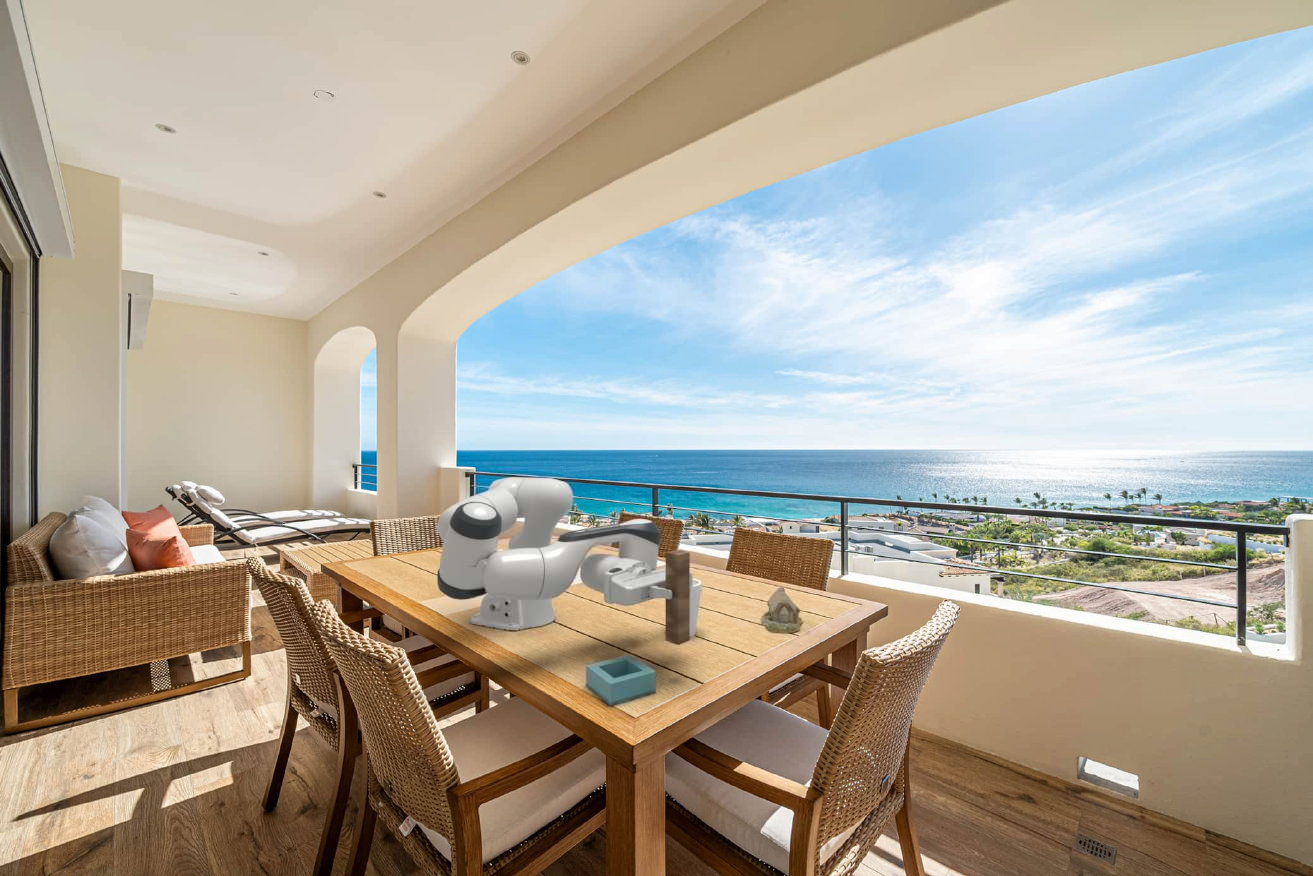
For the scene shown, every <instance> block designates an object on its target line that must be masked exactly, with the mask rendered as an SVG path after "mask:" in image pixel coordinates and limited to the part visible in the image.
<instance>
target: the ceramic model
mask: <svg viewBox="0 0 1313 876" xmlns="http://www.w3.org/2000/svg"><path fill="white" fill-rule="evenodd" d="M766 605H767V607H768V611H766V612H765V613H764V614H762V616H761V618H760V621H761V623H763V624H762V625H763V626H765V627H766V628H765V627H764V628H765V629H766V630H767V629H768V630H767V631H769V630H770V632H771V631H772V632H771V633H775V632H778V634H789V633H790V634H791V633H797V632H798V631H800V629H801V625H802V624H803V618H802V617H799V616H800V613H801V608H799V607H798V606H797V605H796V603H794V602H793V601H792V599H791V597H789V595H788V594H787V593H786V591H785V587H783V586H780V587H778V588H777V589H776V591H775V592H774V593H773V594H772V595H771V596H770V597H769V599H768V600H767V603H766Z"/></svg>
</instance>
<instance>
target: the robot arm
mask: <svg viewBox="0 0 1313 876" xmlns="http://www.w3.org/2000/svg"><path fill="white" fill-rule="evenodd" d="M573 493H574V492H573V490H572V488H571V486H570V485H569V483H568V482H565V481H562V480H559V479H555V478H552V477H551V478H550V477H519V476H516V477H515V476H510V477H504V478H499V479H496V480H494V481H492V483H491V484H490V485H489V487H488V490H485V491H484V492H481V493H478V494H475V495H472V496H469V497H467V498H465V499H462V500H460V501H458V502H456V503H454V504H453V505H450V506H449V507H448V508H447V509H445V510H444V511H442V512H441V514H440V515H439V518H438V521H437V531H438V535H439V536H440V538H441V540H442V541H443V543H442V547H441V548H442V549H441V554H440V555H441V556H440V561H439V567H438V570H437V574H436V575H437V578H436V579H437V587H438V589H439V591H440V592H441V593H443V594H444V595H445V596H447V597H448V598H451V599H453V600H459V601H461V600H463V601H464V600H465V601H466V600H470V599H475V598H478V597H481V596H484V597H483V598H482V600H481V603H480V607H479V611H478V612H476V613H475V614H474V615H473V616H471V618H470V624H473V625H476V626H477V625H478V626H482V625H484V627H489V628H493V627H495V628H494V629H499V630H504V629H506V631H509V630H516V631H519V629H520V630H524V629H530V627H531V628H537V627H541V626H544V625H548V624H551V623H552V622H553V621H555V619H556V614H555V611H554V607H553V602H552V599H554V598H558V597H560V596H561V595H563V594H564V593H565V592H566V591H567V590H568V589H569V588H570V587H571V586H572V584H573V582H574V581H575V579H576V577H577V575H578V572H580V574H579V575H580V577H579V578H580V580H581V582H582V584H583V585H585V586H586V587H588V589H592V590H594V591H596V592H599V593H601V594H603V598H604V601H603V602H605V604H608V605H611V604H615V605H619V606H624V607H625V606H627V607H628V606H634V605H638V604H641V603H645V602H648V601H651V600H654V599H665V600H666V599H672V598H674V597H675V590H674V589H671V588H667V589H666V567H665V568H660V569H657V567H658V556H659V546H660V541H661V535H662V532H661V530H660V528H659V527H658V526H657V524H656V523H655V522H654V521H652V520H649V519H645V518H636V519H635V518H634V519H631V520H627V521H624V522H619V523H612V524H606V525H600V526H592V527H587V528H581V529H575V530H571V531H568V532H564V533H562V534H560V536H558V539H557V540H556V541H554V542H553V543H551V542H552V537H553V532H554V531H555V528H556V526H557V525H558V523H559V522H560V521H561V519H562V518H564V517H565V516H566V515H567V514H568V513H569V512H570V510H571V509H572V507H573V503H574V494H573ZM517 519H524V521H523V525H522V528H521V530H520V531H518V532H516V533H515V534H514V535H513V536H511V538H510V539H509V541H508V549H505V550H504V549H501V548H498V543H499V538H500V537H499V536H500V534H502V533H504V532H506V531H508V530H510V529H511V528H512V527H514V525H515V524H516V523H517ZM613 543H618V544H619V547H618V555H614V554H607V553H590V551H591V550H592V549H593V548H595V547H597V546H602V545H606V544H613ZM497 548H498V550H497ZM588 553H590V554H588ZM692 578H693V573H692V572H691V571H690V592H691V587H692Z"/></svg>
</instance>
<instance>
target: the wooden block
mask: <svg viewBox="0 0 1313 876" xmlns="http://www.w3.org/2000/svg"><path fill="white" fill-rule="evenodd" d="M690 555H691V553H690V552H689V551H682V550H679V549H675V550H671V551H667V552H665V568H666V589H667V588H671V589H674V590H675V597H674V598H672V599H665V622H664V623H665V624H664V625H665V634H664V635H665V641H666V642H667V643H671V644H674V645H677V646H680V645H682V644H684V643H686V642H689V641H690V640H691V637H690V572H691V570H690V568H691V567H690V565H691V563H690V561H691V560H690V559H691V558H690Z"/></svg>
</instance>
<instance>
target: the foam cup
mask: <svg viewBox="0 0 1313 876" xmlns="http://www.w3.org/2000/svg"><path fill="white" fill-rule="evenodd" d="M702 587H703V586H702V581H701V580H699V579H696V578H693V577H692V587H691V592H690V638H691V637H694V636H696V633H697V632H696V631H697V626H698V624H697V623H698V618H699V616H698V615H699V610H700V602H701V593H702V591H703V590H702V589H703V588H702Z"/></svg>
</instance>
